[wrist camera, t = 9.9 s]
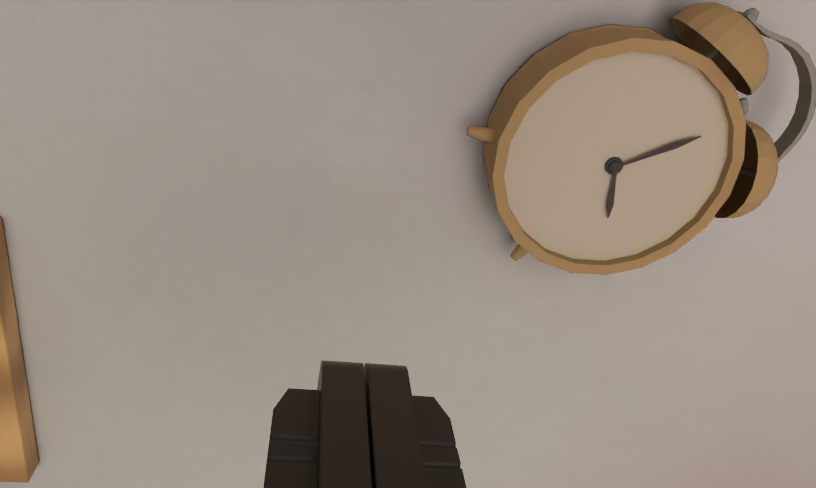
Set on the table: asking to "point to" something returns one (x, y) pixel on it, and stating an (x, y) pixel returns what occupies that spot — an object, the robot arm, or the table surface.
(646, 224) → the alarm clock
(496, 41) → the table surface
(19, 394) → the stand
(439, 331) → the table surface
